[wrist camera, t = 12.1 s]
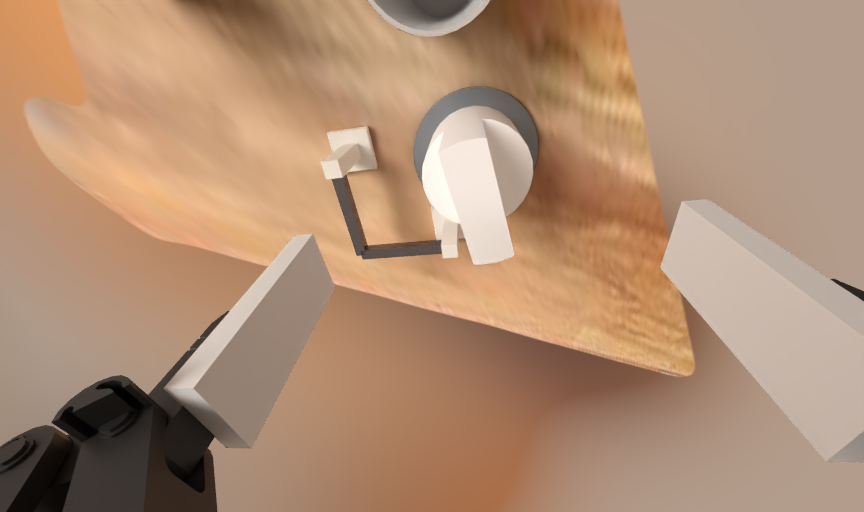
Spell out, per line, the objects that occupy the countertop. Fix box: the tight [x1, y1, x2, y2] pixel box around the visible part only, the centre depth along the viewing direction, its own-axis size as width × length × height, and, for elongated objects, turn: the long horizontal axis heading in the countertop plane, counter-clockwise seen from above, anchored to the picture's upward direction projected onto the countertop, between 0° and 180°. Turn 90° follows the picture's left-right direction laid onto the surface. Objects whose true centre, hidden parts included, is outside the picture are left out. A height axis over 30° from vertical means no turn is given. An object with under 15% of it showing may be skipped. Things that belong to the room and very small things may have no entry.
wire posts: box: [321, 126, 465, 258], centre depth 31 cm, size 18×6×6 cm, turn 53°
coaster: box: [414, 86, 538, 185], centre depth 31 cm, size 12×12×1 cm
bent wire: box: [332, 175, 442, 259], centre depth 29 cm, size 10×10×1 cm
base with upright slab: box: [422, 106, 533, 265], centre depth 26 cm, size 9×9×12 cm
